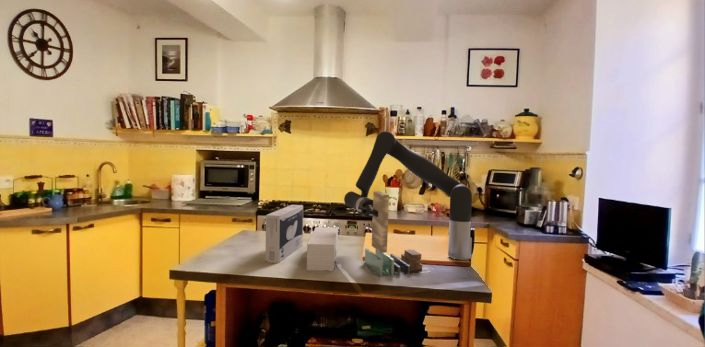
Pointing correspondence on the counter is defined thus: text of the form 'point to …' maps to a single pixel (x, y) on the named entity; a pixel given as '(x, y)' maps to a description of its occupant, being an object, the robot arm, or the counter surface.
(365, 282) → the counter surface
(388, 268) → the rack
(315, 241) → the stack of papers
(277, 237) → the packaging
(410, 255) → the offcut stack
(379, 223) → the birch panel
